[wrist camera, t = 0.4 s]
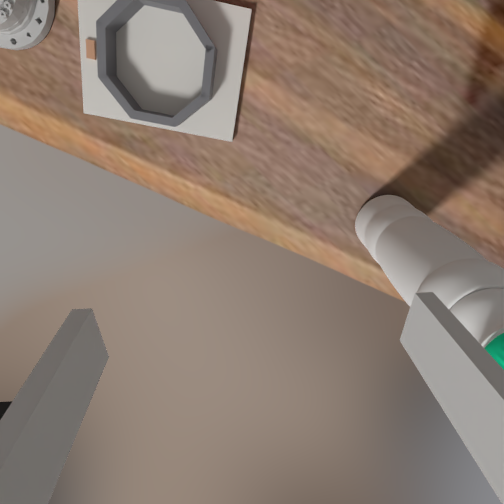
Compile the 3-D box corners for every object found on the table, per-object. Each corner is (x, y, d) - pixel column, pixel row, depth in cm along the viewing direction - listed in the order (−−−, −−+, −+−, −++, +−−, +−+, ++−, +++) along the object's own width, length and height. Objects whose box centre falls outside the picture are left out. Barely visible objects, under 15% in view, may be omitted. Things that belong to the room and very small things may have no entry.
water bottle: (353, 197, 38) (493, 341, 16) (412, 189, 38) (643, 327, 15) (353, 248, 41) (469, 429, 19) (407, 242, 41) (593, 420, 19)
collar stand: (80, -28, 29) (60, -42, 26) (251, 11, 30) (251, 2, 27) (87, 112, 34) (71, 114, 31) (232, 140, 35) (230, 145, 32)
